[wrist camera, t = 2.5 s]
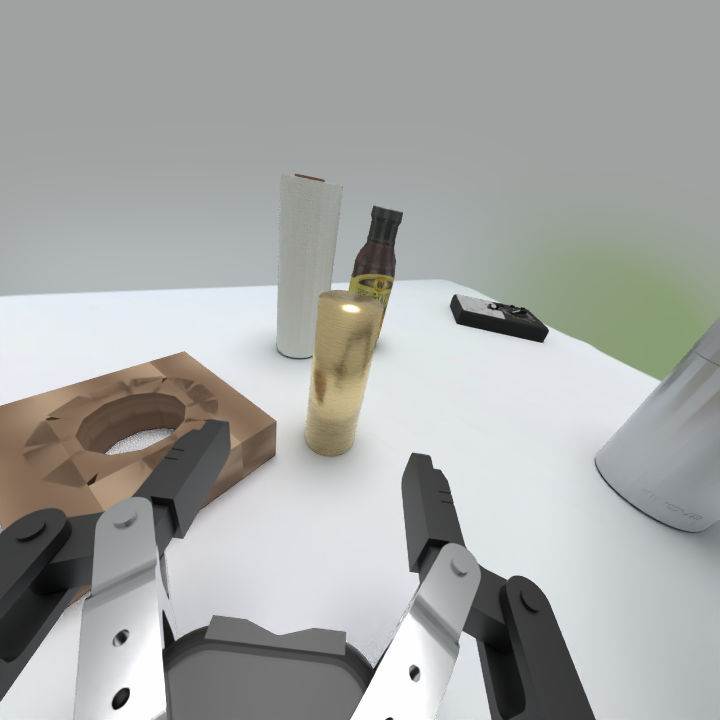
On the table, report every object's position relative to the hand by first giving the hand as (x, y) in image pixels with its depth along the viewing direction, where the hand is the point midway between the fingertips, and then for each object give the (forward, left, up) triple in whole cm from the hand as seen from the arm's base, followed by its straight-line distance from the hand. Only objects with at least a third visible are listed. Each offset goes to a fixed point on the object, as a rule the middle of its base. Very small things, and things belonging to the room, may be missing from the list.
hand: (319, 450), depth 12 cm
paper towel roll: (-20, -20, -11) cm, 30 cm away
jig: (+2, -15, -11) cm, 19 cm away
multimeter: (-65, -2, -12) cm, 66 cm away
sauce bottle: (-29, -16, -11) cm, 35 cm away
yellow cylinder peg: (-10, -6, -11) cm, 16 cm away
